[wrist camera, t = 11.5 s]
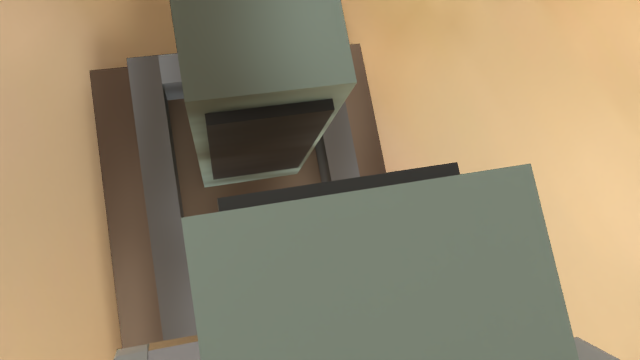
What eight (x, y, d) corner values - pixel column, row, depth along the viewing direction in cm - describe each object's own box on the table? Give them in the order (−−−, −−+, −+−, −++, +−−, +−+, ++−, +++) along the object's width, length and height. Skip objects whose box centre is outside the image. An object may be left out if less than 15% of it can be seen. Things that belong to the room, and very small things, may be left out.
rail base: (352, 56, 26) (459, -135, 14) (428, 436, 24) (642, 600, 11) (97, 83, 24) (-34, -120, 12) (149, 509, 21) (45, 813, 9)
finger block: (334, 229, 17) (524, 139, 6) (359, 368, 16) (621, 531, 6) (206, 251, 16) (177, 188, 5) (228, 398, 15) (241, 657, 5)
